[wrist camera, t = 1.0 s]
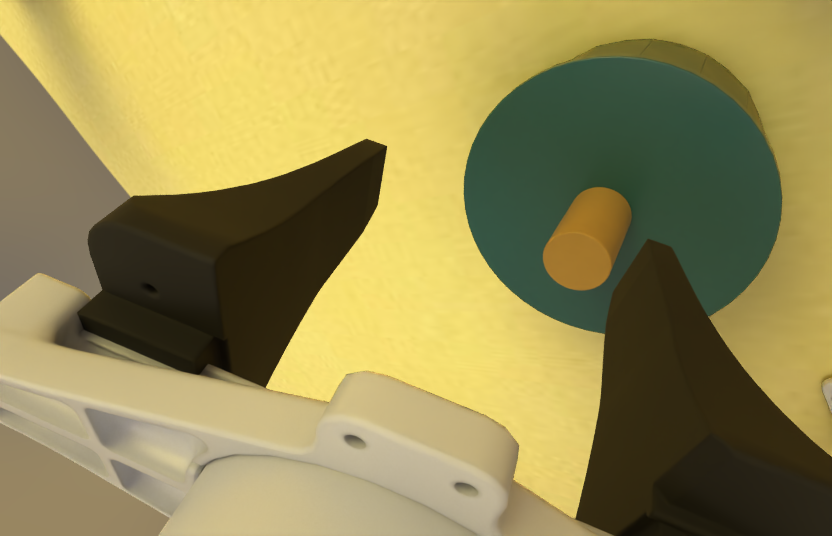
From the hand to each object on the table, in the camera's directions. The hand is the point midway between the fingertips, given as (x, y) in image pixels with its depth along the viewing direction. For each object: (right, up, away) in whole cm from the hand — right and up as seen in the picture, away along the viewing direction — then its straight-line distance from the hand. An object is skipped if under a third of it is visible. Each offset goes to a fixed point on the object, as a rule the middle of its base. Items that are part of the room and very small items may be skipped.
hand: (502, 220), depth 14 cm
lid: (+5, +1, +8) cm, 10 cm away
